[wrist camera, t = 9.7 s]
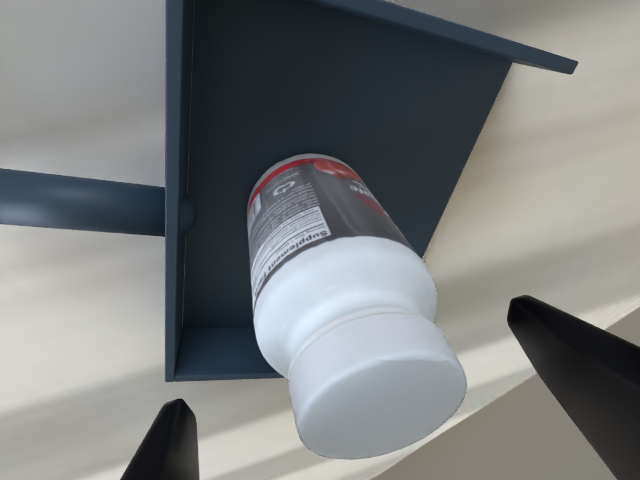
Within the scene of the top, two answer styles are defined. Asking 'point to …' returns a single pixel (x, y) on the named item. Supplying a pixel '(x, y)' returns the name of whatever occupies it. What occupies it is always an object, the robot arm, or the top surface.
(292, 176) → the pill bottle
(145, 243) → the top surface
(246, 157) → the dustpan
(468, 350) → the top surface
